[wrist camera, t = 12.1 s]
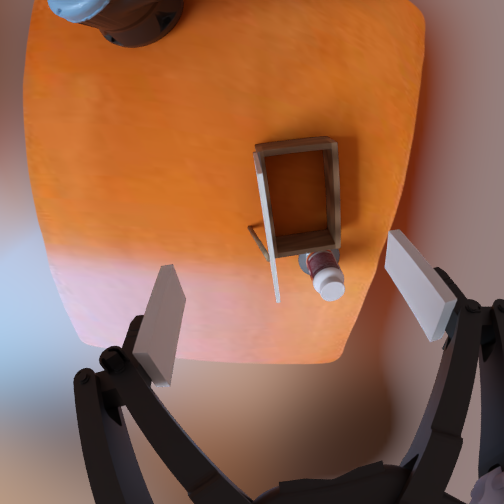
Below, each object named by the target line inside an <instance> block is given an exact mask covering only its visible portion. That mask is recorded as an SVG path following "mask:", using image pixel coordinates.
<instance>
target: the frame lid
mask: <svg viewBox="0 0 504 504" xmlns="http://www.w3.org/2000/svg"><path fill="white" fill-rule="evenodd" d="M253 156H254V162H255V168H256V175H257V181H258V187H259V193H260V200H261V206H262V213H263V219H264V226H265V232H266V239H267V245H268V252H269V257H270V265H271V271H272V277H273V283H274V290H275V296H276V302H277V303H279V302H280V294H279V287H278V279H277V271H276V264H275V254H274V247H273V240H272V233H271V226H270V219H269V212H268V205H267V198H266V191H265V184H264V178H263V171H262V165H261V158H260V152H259V151H257V152H253Z"/></svg>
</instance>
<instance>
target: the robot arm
mask: <svg viewBox="0 0 504 504" xmlns="http://www.w3.org/2000/svg"><path fill="white" fill-rule="evenodd" d="M48 4H49V7H50V8H51V10H52V11H53V12H54V13H55V14H56V15H58V16H60V17H62V18H65V19H66V20H68V21H71V22H73V23H79V24H83V25H87V26H91V27H95V28H98V29H99V30H100V32H101V33H102V35H103V36H104V37H105V38H106V39H107V40H108V41H110V42H111V43H113V44H116V45H119V46H122V47H128V48H135V47H142V46H146V45H149V44H151V43H153V42H156V41H157V40H159V39H161V38H162V37H164V36H165V35H166V34H167V33H168V32H169V31H170V30H171V29H172V28H173V27H174V26H175V25H176V23H177V22H178V20H179V18H180V16H181V14H182V10H183V4H184V1H183V0H48ZM385 269H386V270H387V272H388V273H389V275H390V276H391V278H392V280H393V281H394V283H395V284H396V286H397V287H398V289H399V290H400V292H401V294H402V295H403V297H404V298H405V300H406V302H407V303H408V305H409V307H410V308H411V310H412V312H413V313H414V315H415V317H416V318H417V320H418V322H419V323H420V325H421V327H422V329H423V330H424V332H425V334H426V336H427V338H428V339H429V341H430V342H432V341H435V340H438V339H441V338H442V336H443V334H444V331H446V333H447V334H448V337H447V339H446V342H445V344H444V346H443V348H442V349H443V350H444V351H443V355H442V359H441V363H440V367H439V370H438V374H437V377H436V380H435V384H434V387H433V390H432V393H431V396H430V399H429V402H428V404H427V407H426V410H425V413H424V415H423V418H422V421H421V423H420V426H419V428H418V431H417V433H416V435H415V438H414V440H413V442H412V444H411V447H410V449H409V451H408V453H407V454H406V455H405V457H404V458H403V460H402V462H401V464H400V465H399V466H396V465H387V464H385V465H383V462H382V461H379V462H376V463H372V464H369V465H365V466H362V467H358V468H356V469H354V470H352V471H350V472H348V473H346V474H344V475H342V476H340V477H338V478H335V479H332V480H325V479H300V480H292V481H284V482H279V486H277V487H274V488H272V489H270V490H268V491H266V492H264V493H263V494H261V495H260V496H259V497H257V498H256V499H255V500H254V501H253V500H252V499H251V498H250V497H248V496H247V495H246V494H245V493H244V492H243V491H242V490H241V489H239V488H238V487H237V486H236V485H235V484H234V483H233V482H232V481H231V480H230V479H229V478H228V477H227V476H226V475H225V474H224V473H223V472H222V471H221V470H220V469H219V468H218V467H217V466H216V465H214V463H213V462H212V461H211V460H210V459H209V458H208V457H207V456H206V455H205V454H204V453H203V452H202V450H201V449H200V448H199V447H198V446H197V445H196V444H195V443H194V441H193V440H192V439H191V438H190V437H189V436H188V434H187V433H186V432H185V431H184V430H183V429H182V428H181V426H180V425H179V424H178V423H177V422H176V420H175V419H174V418H173V416H172V415H171V414H170V412H169V411H168V410H167V409H166V407H164V405H163V403H162V402H161V401H160V400H159V398H158V397H157V395H156V394H155V393H154V392H153V390H152V389H151V382H153V383H154V384H155V386H158V387H163V386H170V384H171V378H172V372H173V365H174V360H175V354H176V349H177V343H178V338H179V332H180V327H181V322H182V316H183V311H184V306H185V301H186V298H185V295H184V293H183V290H182V287H181V285H180V282H179V279H178V277H177V274H176V271H175V268H174V266H173V264H171V265H165V266H161V268H160V271H159V274H158V276H157V279H156V282H155V285H154V288H153V290H152V293H151V296H150V299H149V302H148V305H147V308H146V311H145V314H144V315H139V316H136V317H135V318H134V319H133V320H132V322H131V323H130V326H129V329H128V332H127V335H126V338H125V341H124V344H123V346H122V348H120V347H118V346H111V347H109V348H107V349H106V350H104V351H103V352H102V354H101V356H100V358H99V362H100V365H101V366H102V367H103V368H104V371H101V372H98V373H95V372H94V371H93V370H92V369H90V368H84V369H81V370H80V371H79V372H78V373H77V374H76V375H75V377H74V382H73V383H74V395H75V404H76V413H77V420H78V428H79V434H80V439H81V446H82V451H83V456H84V460H85V465H86V470H87V473H88V478H89V482H90V486H91V490H92V493H93V496H94V500H95V503H96V504H154V503H153V501H152V498H151V496H150V494H149V491H148V489H147V487H146V484H145V481H144V479H143V476H142V473H141V471H140V468H139V465H138V462H137V460H136V456H135V453H134V450H133V447H132V444H131V441H130V438H129V434H128V431H127V427H126V424H125V421H124V417H123V413H122V409H121V406H124V405H126V407H127V408H128V410H129V412H130V413H131V415H132V417H133V418H134V420H135V421H136V423H137V425H138V426H139V428H140V429H141V431H142V432H143V433H144V435H145V437H146V438H147V440H148V441H149V443H150V444H151V445H152V447H153V448H154V450H155V451H156V452H157V454H158V455H159V456H160V458H161V459H162V460H163V462H164V463H165V464H166V466H167V467H168V468H169V470H170V471H171V472H172V473H173V475H174V476H175V477H176V478H177V480H178V481H179V482H180V483H181V484H182V486H183V487H184V488H185V489H186V491H187V492H188V496H189V498H190V499H191V500H192V501H193V503H194V504H466V503H464V502H462V501H460V500H458V499H457V498H455V497H453V496H451V495H449V494H448V493H446V492H444V491H445V489H446V487H447V484H448V482H449V480H450V477H451V475H452V472H453V470H454V467H455V464H456V462H457V459H458V456H459V453H460V450H461V448H462V444H463V438H461V432H462V429H463V426H464V422H465V418H466V415H467V411H468V407H469V402H470V398H471V394H472V389H473V384H474V379H475V374H476V368H477V362H478V357H479V368H480V382H481V437H480V451H479V465H478V473H479V474H478V475H479V479H478V481H477V482H476V484H475V485H474V488H473V489H472V491H471V497H472V500H471V502H470V503H469V504H504V300H503V299H497V300H495V301H494V303H493V305H492V307H481V305H480V304H479V303H478V302H477V301H474V300H471V299H467V298H466V297H465V296H464V294H463V293H462V292H461V291H460V289H459V288H458V287H457V285H456V284H454V282H453V280H452V279H450V277H449V276H448V274H447V273H446V272H445V271H443V270H442V269H440V268H439V267H436V268H432V266H431V265H430V264H429V263H428V262H427V260H426V259H425V258H424V257H423V256H422V254H421V253H420V252H419V251H418V250H417V249H416V248H415V246H414V245H413V244H412V243H411V242H410V241H409V240H408V238H407V237H406V236H405V235H404V234H403V233H402V232H401V231H400V230H399V229H398V230H392V231H389V233H388V243H387V253H386V261H385Z"/></svg>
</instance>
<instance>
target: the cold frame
mask: <svg viewBox="0 0 504 504" xmlns="http://www.w3.org/2000/svg"><path fill="white" fill-rule="evenodd" d="M255 149H256V152H257V151H259V152H260V158H261V165H262V171H263V178H264V184H265V191H266V198H267V205H268V212H269V219H270V226H271V233H272V240H273V247H274V254H275V258H281V257H287V256H293V255H300V254H306V253H313V252H319V251H325V250H331V249H338V248H341V214H340V180H339V160H338V145H337V142H336V141H334V140H333V139H331V138H329V137H328V136H323V137H312V138H302V139H293V140H285V141H277V142H270V143H263V144H256V145H255ZM314 150H323V159H324V172H325V188H326V208H327V229H326V230H319V231H312V232H306V233H299V234H292V235H286V236H279V237H275V230H274V223H273V215H272V208H271V201H270V194H269V187H268V180H267V173H266V166H265V160H264V157H267V156H274V155H281V154H289V153H297V152H305V151H314ZM248 230H249V231H250V233H251V235H252V236H253V238H254V240H255V241H256V243H257V245H258V246H259V248H260V250H261V251H262V253H263V255H264V256H265V258H266V260H267V261H268V262H269V261H270V257H269V254H268V252H267V250H266V249H265V247H264V246H263V244H262V243H261V241H260V239H259V238H258V236H257V235H256V233H255V232H254V230H253V228H252V227H251V226H248Z"/></svg>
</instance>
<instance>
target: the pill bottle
mask: <svg viewBox="0 0 504 504" xmlns="http://www.w3.org/2000/svg"><path fill="white" fill-rule="evenodd" d="M306 265H307V268H308V271H309V274H310V277H311V280H312V283H313V286H314V288H315V290H316V291H317V292H318V293H320V294H321V297H322V298H323V299H324V300H326V301H334V300H337V299H339V298H340V297H341V296H342V295H343V294H344V291H345V287H344V284H343V283H344V275H343V273H342V271H341V269H340V267H339V265H338V263H337V261H336V259H335V257H334V255H333V253H332V251H331V250H325V251H319V252H313V253H309V254H308V255H307V258H306Z"/></svg>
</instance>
